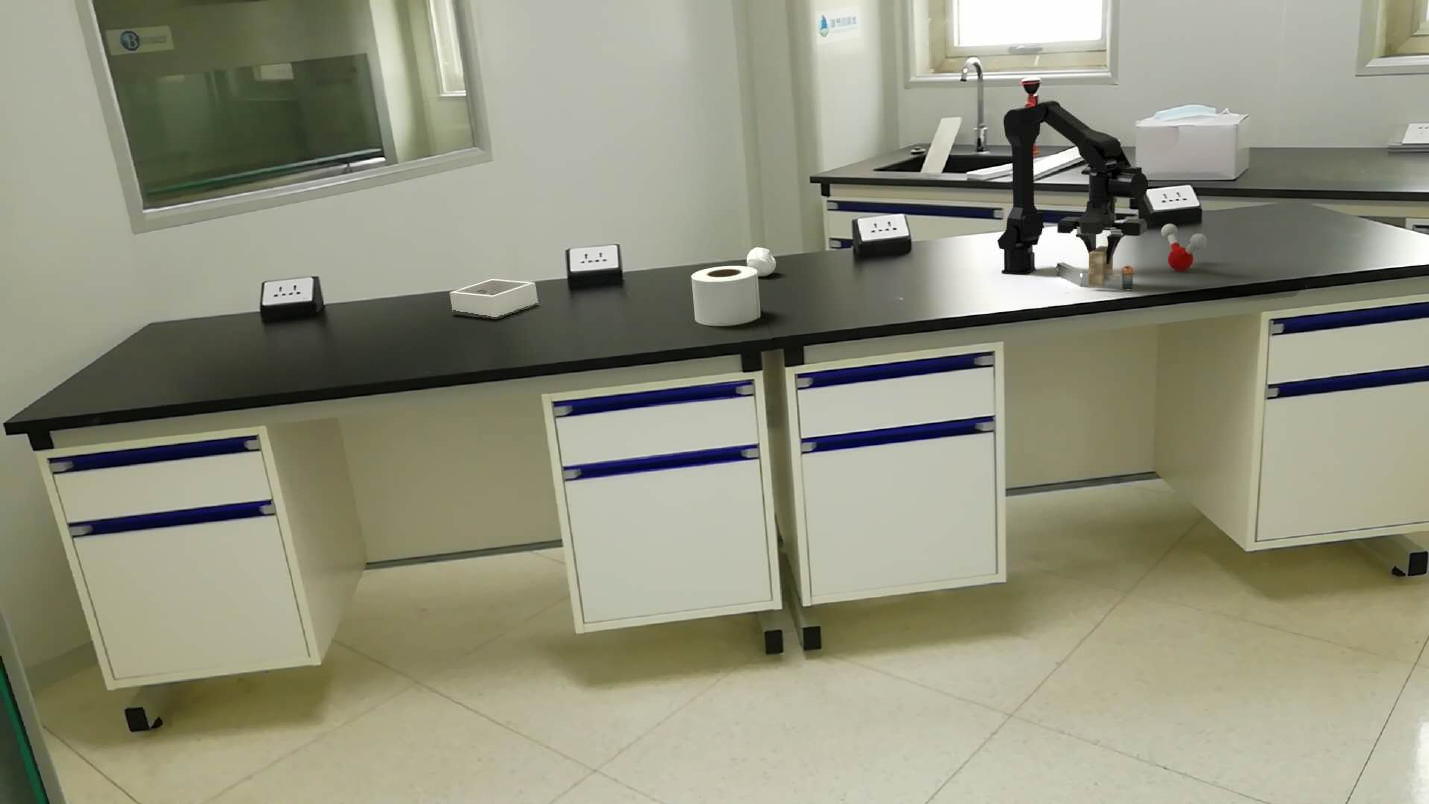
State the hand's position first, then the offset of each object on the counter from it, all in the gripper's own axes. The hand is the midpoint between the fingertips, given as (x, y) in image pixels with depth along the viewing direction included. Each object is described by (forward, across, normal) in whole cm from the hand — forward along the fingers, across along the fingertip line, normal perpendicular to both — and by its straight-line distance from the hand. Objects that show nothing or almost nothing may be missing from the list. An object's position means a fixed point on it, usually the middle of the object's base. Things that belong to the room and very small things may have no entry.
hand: (1100, 263), depth 266 cm
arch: (+4, 0, 0) cm, 4 cm away
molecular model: (+6, +12, +20) cm, 24 cm away
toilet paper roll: (+6, -71, -49) cm, 86 cm away
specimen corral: (+6, -136, -62) cm, 150 cm away
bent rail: (+6, -3, +4) cm, 8 cm away
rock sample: (+6, -135, -64) cm, 150 cm away
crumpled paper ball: (+6, -87, -11) cm, 88 cm away
